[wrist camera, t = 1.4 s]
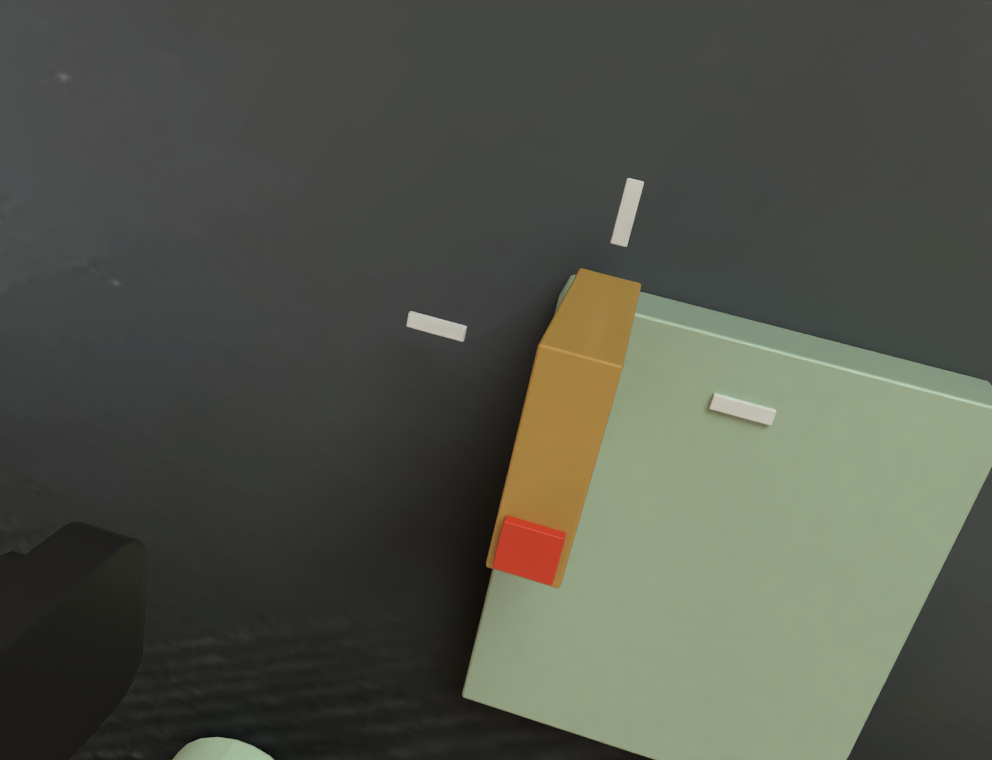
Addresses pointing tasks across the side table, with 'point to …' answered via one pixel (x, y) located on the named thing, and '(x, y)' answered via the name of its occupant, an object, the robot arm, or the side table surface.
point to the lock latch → (563, 427)
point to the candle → (220, 750)
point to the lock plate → (739, 540)
